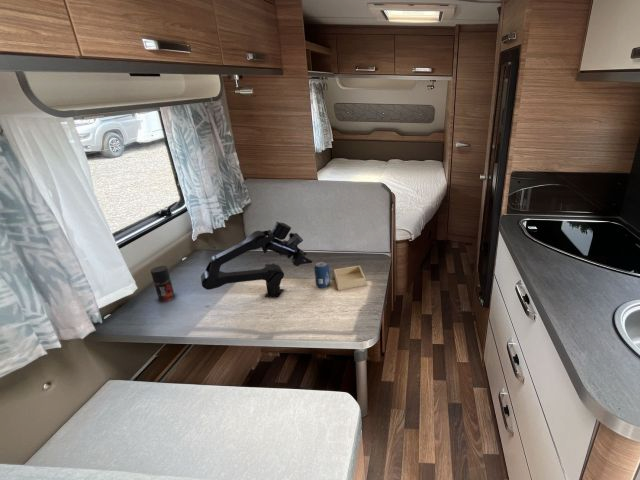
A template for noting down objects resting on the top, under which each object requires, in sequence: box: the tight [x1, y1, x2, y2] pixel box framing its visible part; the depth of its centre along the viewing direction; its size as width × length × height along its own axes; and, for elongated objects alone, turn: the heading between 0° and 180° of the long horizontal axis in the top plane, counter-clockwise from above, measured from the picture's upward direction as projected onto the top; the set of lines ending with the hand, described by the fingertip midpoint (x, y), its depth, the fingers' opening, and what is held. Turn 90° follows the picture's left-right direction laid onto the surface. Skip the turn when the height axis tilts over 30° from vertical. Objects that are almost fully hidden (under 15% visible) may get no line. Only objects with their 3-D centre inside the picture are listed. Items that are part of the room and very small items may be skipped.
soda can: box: [314, 260, 331, 290], centre depth 163 cm, size 7×7×12 cm
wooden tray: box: [333, 265, 367, 291], centre depth 169 cm, size 14×14×4 cm
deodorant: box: [150, 265, 176, 303], centre depth 150 cm, size 6×6×15 cm
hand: (308, 258), depth 162 cm, fingers open, 9 cm apart
